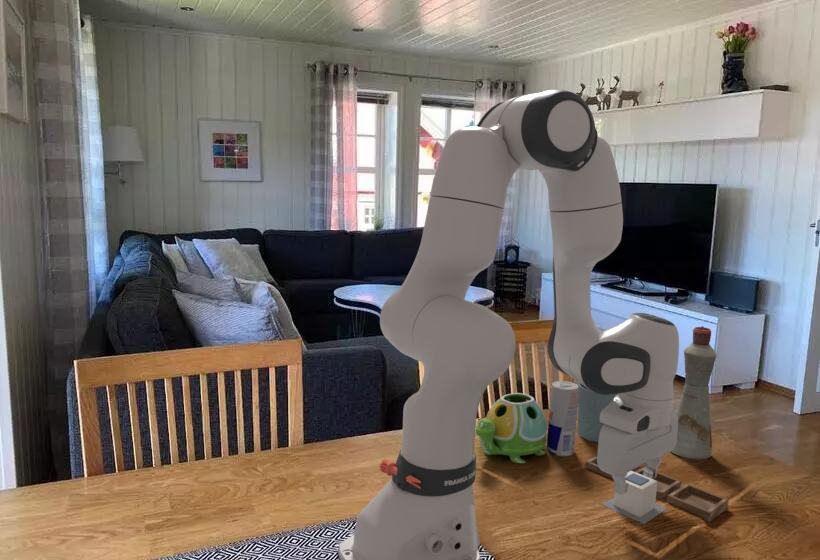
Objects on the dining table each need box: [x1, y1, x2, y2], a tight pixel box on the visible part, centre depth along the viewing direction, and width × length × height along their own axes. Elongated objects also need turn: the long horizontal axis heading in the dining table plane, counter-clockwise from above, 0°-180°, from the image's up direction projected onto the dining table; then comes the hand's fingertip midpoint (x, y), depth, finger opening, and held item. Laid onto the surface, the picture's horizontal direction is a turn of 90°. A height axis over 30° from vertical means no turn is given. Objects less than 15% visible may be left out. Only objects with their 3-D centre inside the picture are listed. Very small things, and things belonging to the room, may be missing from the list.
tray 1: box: [584, 455, 640, 480], centre depth 125 cm, size 7×7×2 cm
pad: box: [601, 497, 668, 525], centre depth 111 cm, size 8×8×1 cm
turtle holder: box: [475, 392, 548, 464], centre depth 130 cm, size 12×18×12 cm
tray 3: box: [666, 483, 729, 523], centre depth 113 cm, size 7×7×2 cm
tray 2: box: [636, 466, 682, 500], centre depth 119 cm, size 7×7×2 cm
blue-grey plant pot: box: [576, 382, 618, 443], centre depth 141 cm, size 10×10×12 cm
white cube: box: [614, 471, 658, 517], centre depth 110 cm, size 5×5×5 cm
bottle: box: [670, 325, 717, 461], centre depth 133 cm, size 9×9×28 cm
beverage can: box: [546, 380, 579, 457], centre depth 132 cm, size 6×6×15 cm
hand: (635, 484), depth 110 cm, fingers open, 8 cm apart
